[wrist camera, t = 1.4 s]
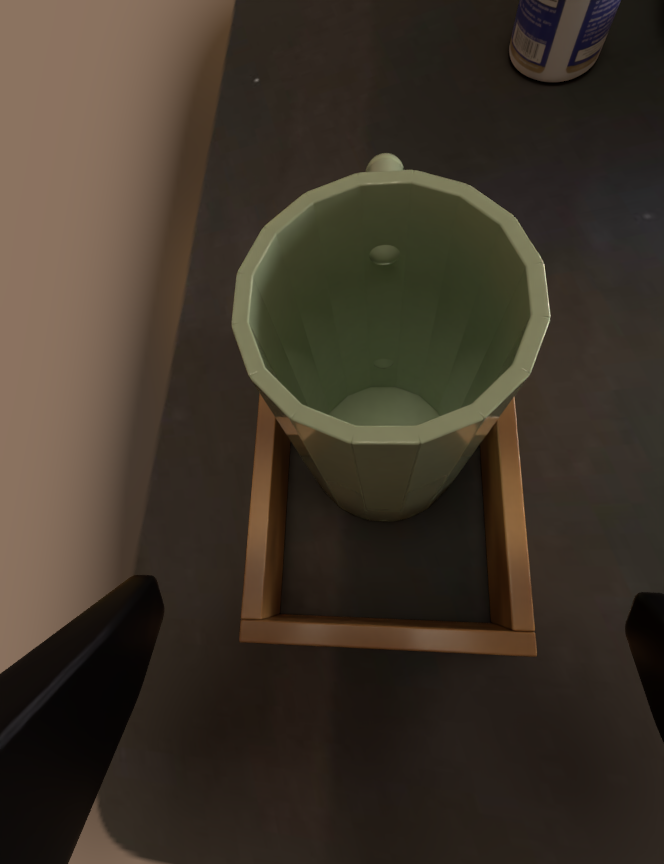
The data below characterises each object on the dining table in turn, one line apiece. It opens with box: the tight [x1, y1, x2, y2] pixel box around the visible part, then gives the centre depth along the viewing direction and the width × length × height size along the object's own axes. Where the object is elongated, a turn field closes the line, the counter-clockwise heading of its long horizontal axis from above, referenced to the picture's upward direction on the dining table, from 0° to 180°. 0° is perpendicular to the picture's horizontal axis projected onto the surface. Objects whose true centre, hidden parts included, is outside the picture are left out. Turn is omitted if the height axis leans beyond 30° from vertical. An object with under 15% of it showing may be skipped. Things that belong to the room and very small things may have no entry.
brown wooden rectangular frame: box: [239, 394, 537, 657], centre depth 21 cm, size 17×11×4 cm, turn 178°
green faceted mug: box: [231, 153, 551, 522], centre depth 17 cm, size 10×7×13 cm
